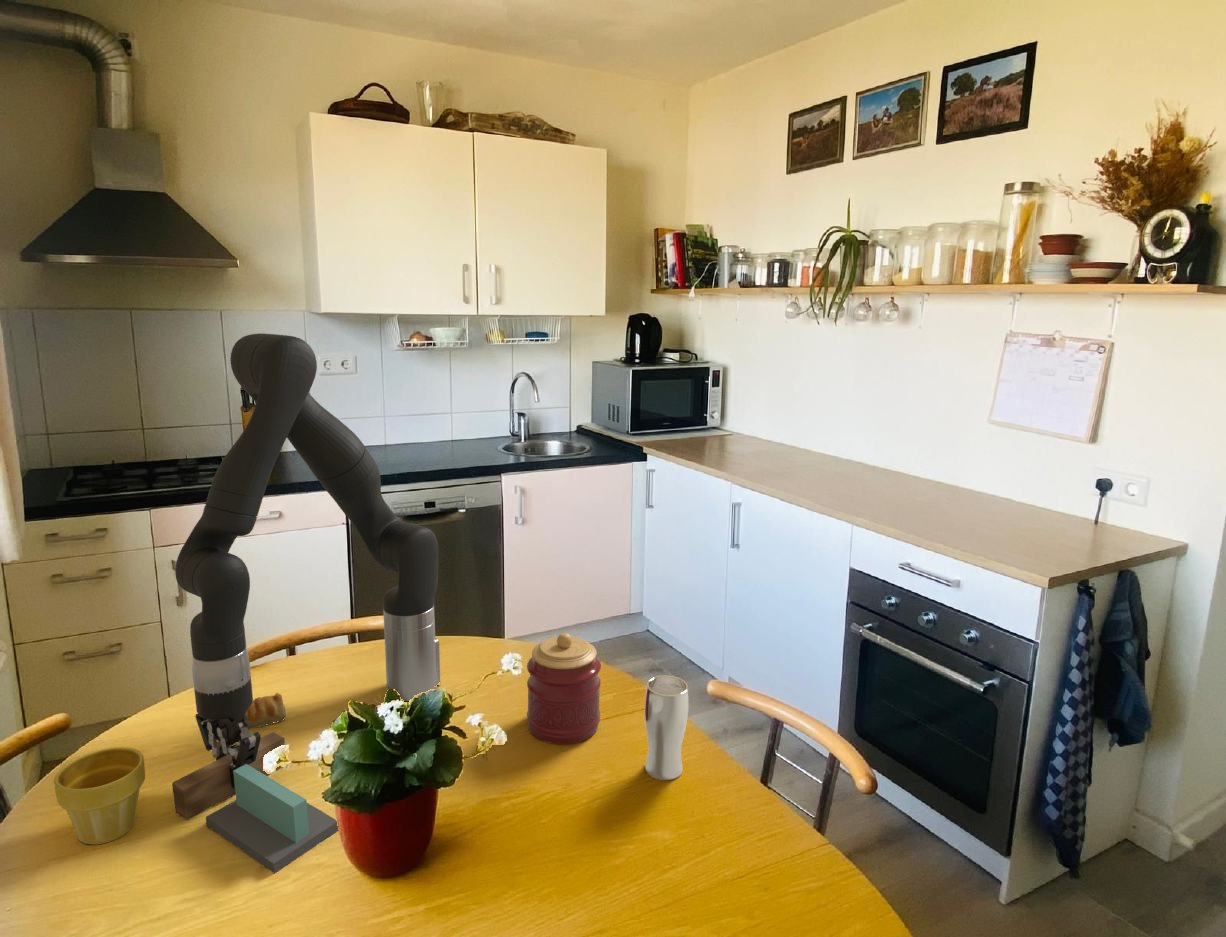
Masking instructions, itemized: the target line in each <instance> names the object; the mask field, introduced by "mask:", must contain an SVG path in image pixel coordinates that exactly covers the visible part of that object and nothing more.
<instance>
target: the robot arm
mask: <svg viewBox="0 0 1226 937" xmlns="http://www.w3.org/2000/svg"><path fill="white" fill-rule="evenodd" d="M317 364H318V362H317V357H316V354H315V352H314V350H313V349H312V347H311V345H309V343H307V342H306V341H305V340H303V339H302V338H300V337H296V336H293V335H286V334H276V333H275V334H274V333H261V332H260V333H251V334H247V335H244V336H242V337H241V338H239V339H238V340H237V341H236V342H235V343H234V345H233V346H232V348H231V351H230V368H231V371H232V374H233V376H234V378H235V380H236V382H237V383H238V384H239V385H240V387H241V388H242V389H243V390H244V391H245V392H246V394H248V395H249V396H250V398H252V399H253V401H255V402H256V403H255V406H254V409H253V412H252V414H251V416H250V419H249V421H248V423H247V424H246V425H245V428H244V429H243V431H242V433H241V434H240V435H239V437H238V438H237V440H236V441H235V442H234V443H233V445H232V447H231V448H230V449H229V450H228V452H227V453H226V454H225V456H224V457H223V459H222V461H221V462H220V464H219V465H218V466H217V467H218V468H217V469H216V471H215V474H214V476H213V479H212V481H211V485H210V487H209V491H208V495H207V497H206V501H205V505H204V508H203V511H202V514H201V517H199V518H200V519H199V520H198V521H197V523H195V525H194V527H193V528H192V530H191V532H190V534H189V536H188V537H187V539H186V540H185V542H184V544H183V545H182V548H181V549H180V551H179V553H178V555H177V559H176V564H175V568H174V569H175V572H174V575H175V580H176V582H177V584H178V585H179V587H180V588H181V589H182V590H183V591H185V592H187V593H189V594H191V595H195V596H196V597H199V598H200V599H201V606H202V607H201V611H200V612H199V613H197V614H196V615H195V616H194V617H193V618H192V620H191V622H190V625H189V626H190V627H189V632H190V643H191V644H190V645H191V653H192V654H191V655H192V667H191V668H192V669H191V670H192V680H193V681H192V682H193V690H194V698H195V699H194V700H195V708H196V714H195V715H194V716H195V720H196V722H197V727H198V728H199V732H200V735H201V738H202V742H203V744H204V747H205V750H206V751H207V752H210V751H211V755H212V758H213V759H215V761H216V760H218V759H220V758H222V757H224V756H226V755H227V756H228V761H229V766H230V776H231V786H232V788H234V789H235V784H234V774H233V771H234V770H236V769H238V768H239V767H241V766H243V765H245V764H247V765H249V764H251V763H253V762H254V761H255V760H256V756H257V752H258V748H259V744H260V739H261V736H262V735H261V734H260V732H258V731H256V732H254V733H252V731H251V730H250V729H249V728H248V721H247V718H246V715H245V713H246V711H247V710H248V708H249V707H250V706H251V704H252V702H253V700H254V698H253V695H254V694H253V686H252V673H251V666H250V664H251V663H250V657H249V653H248V648H247V641H246V640H247V639H246V631H245V623H244V621H245V617H246V612H247V607H248V602H249V595H250V591H251V590H250V589H251V578H250V573H249V570H248V567H247V565H246V563H245V562H244V560H242V558H240V557H239V556H237V555H236V554H234V553H230V550H231V548H232V546H233V544H234V543H235V541H236V539H237V538H238V537H243V536H248V535H249V534H250V533H252V531H253V530H254V528H255V524H256V522H257V519H258V516H259V513H260V508H261V506H262V502H263V498H264V496H265V493H266V489H267V486H268V483H269V480H270V477H271V474H272V472H273V469H274V466H275V464H276V463H277V462H276V461H277V459H278V457H279V455H280V453H281V450H282V448H283V446H284V444H285V442H286V439H287V440H288V441H289V442H290V444H291V445H292V447H293V448H294V450H295V451H296V452H297V453H298V454H299V457H301V459H302V460H303V461H304V463H305V464H306V465H307V467H308V468H309V469H310V471H311V473H312V474H313V476H314V477H315V478H316V479H317V481H319V483H320V485H322V487H323V488H324V489H325V491H326V492H327V494H328V495H329V496H330V497H331V498H332V499H333V500H334V502H335V503H336V505H337V506H338V507H339V509H340V510H341V511H342V512H343V513H344V515H345V516H346V517H347V518H348V519H349V521H350V523H351V524H352V525H353V526H354V528H355V529H356V531H357V533H358V535H359V537H360V538H361V541H362V542H363V544H364V545H365V547H366V548H367V550H368V553H370V555H371V557H372V558H373V560H374V561H375V562H376V563H377V564H378V565H379V566H381V567H382V568H383V569H386V570H387V571H388V570H389V571H391V572H395V573H398V580H397V581H398V583H397V584H398V585H396V586H394V587H391V588H389V589H388V590H386V591H385V593H384V594H383V597H382V609H383V610H382V612H383V627H384V628H383V631H384V635H383V636H384V651H385V653H384V654H385V655H384V656H385V672H386V673H385V675H386V690H387V689H395V690H396V691H397V692H398V693H399V694H400V697H401V699H403V700H404V701H409V700H410V699H412V698H413V697H414V695H417V694H419V693H421V692H426V691H428V690H430V689H436V690H437V688H436V687H434V686H436V685H437V684H438V683H439V682H440V683H441V661H440V660H441V658H440V656H441V655H440V654H441V652H440V640H439V639H438V638H436V626H435V625H436V624H435V623H436V622H435V620H436V619H435V596H436V594H437V590H438V583H439V542H438V539H437V537H436V535H435V533H434V532H433V531H432V530H431V529H430V528H428V527H426V526H421V525H417V524H415V523H410V522H407V521H404V520H402V519H401V518H399V517H398V516H397V515H396V514H395V512H393V510H392V509H391V508H390V507H389V505H388V503H386V501H385V499H384V497H383V495H382V490H381V489H382V487H381V486H382V482H381V481H382V480H381V473H380V469H379V467H378V464H377V463H376V461H375V460H374V458H373V456H372V455H371V454H370V451H368V449H367V447H366V446H365V444H364V443H363V442H362V440H361V439H360V438H359V437H358V436H357V435H356V433H355V432H354V431H352V430H351V429H350V428H349V427H348V426H347V425H346V424H345V423H344V422H342V421H341V420H340V419H338V418H337V417H336V416H335V415H334V414H332V413H331V412H330V411H328V410H327V408H325V407H324V406H322V405H321V404H320V403H319V402H318V401H317V400H316V399H315V398H314V397H313V396H312V395H311V393H310V391H311V388H312V386H313V384H314V381H315V378H316V374H317V369H318V368H317V367H318V365H317ZM236 752H238V755H237V758H236V759H235V753H236Z"/></svg>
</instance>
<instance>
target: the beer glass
mask: <svg viewBox="0 0 1226 937" xmlns="http://www.w3.org/2000/svg"><path fill="white" fill-rule="evenodd" d="M688 716H689V686H688V684H687V682H686V681H685V680H684V679H682V678H680V677H678V676H675V675H664V674H663V675H657V676H654V677H653V676H652V677H651V678H650V679H648V681H647V682H646V690H645V698H644V725H645V731H646V737H647V744H648V746H647V747H648V750H647V757H646V760H645V764H644V769H645V772H646V773H647V775H648V776H650V777H652V778H654V779H656V780H659V781H672V780H675V779H677V778H679V777H680V776H681V775H682V773H683V763H682V746H683V741H684V737H685V734H686V729H687V723H688V718H689V717H688Z"/></svg>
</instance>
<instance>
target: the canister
mask: <svg viewBox="0 0 1226 937" xmlns="http://www.w3.org/2000/svg"><path fill="white" fill-rule="evenodd" d="M597 654H598V653H597V649H596V647H595V646H594V645H592V644H591V643H589V642H587V641H586V640H585V639H583V638H580V637H577V636H572V635H570V634H569V633H567V632H563V633H560V634H558V635H557V636H552V637H549V638H547V639H545V640H543V641H541V642H540V643H538V644H536V645H535V646H534V647H533V648H532V651H531V657H530V658H529V660H528V661H527V664H526V669H527V673H529V677H528V679H527V681H526V685H527V712H526V717H527V718H526V721H527V724H528V729H529V732H530V733H531V734H532V736H534V738H536V739H539V740H541V741H543V742H545V743H549V744H554V745H571V744H576V743H580V742H583V741H586V740H587V739H589V738H591V737H593V735H595V733H596V732H597V731H598V728H599V724H600V721H601V711H600V710H601V709H600V695H601V694H600V691H601V686H602V685H601V682H602V681H601V679H600V676H599V673H600V671H601V670H602V663H601V660H600V659H599V657H597Z"/></svg>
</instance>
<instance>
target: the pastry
mask: <svg viewBox="0 0 1226 937" xmlns="http://www.w3.org/2000/svg"><path fill="white" fill-rule="evenodd" d="M285 707H286V706H284V701H283V696H282V694H281V693H278V692H276V693H275V694H273V695H267V696H262V697H260V696H259V697H257V698H253V702H252V704H251V706H250V707H249V708H248V710H247V711H246V713H245V715H246V718H247V721H248V729H249V728H259V727H264V726H267V725H266V724H269V725H272V724H271V723H273V722H277V721H280V722H282V721H281V720H283V719H284V718H285V719H286V718H287V710H286V708H285ZM285 719H284V720H285ZM284 720H283V721H284ZM277 723H278V722H277ZM273 724H274V723H273ZM263 725H264V726H263Z"/></svg>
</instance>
